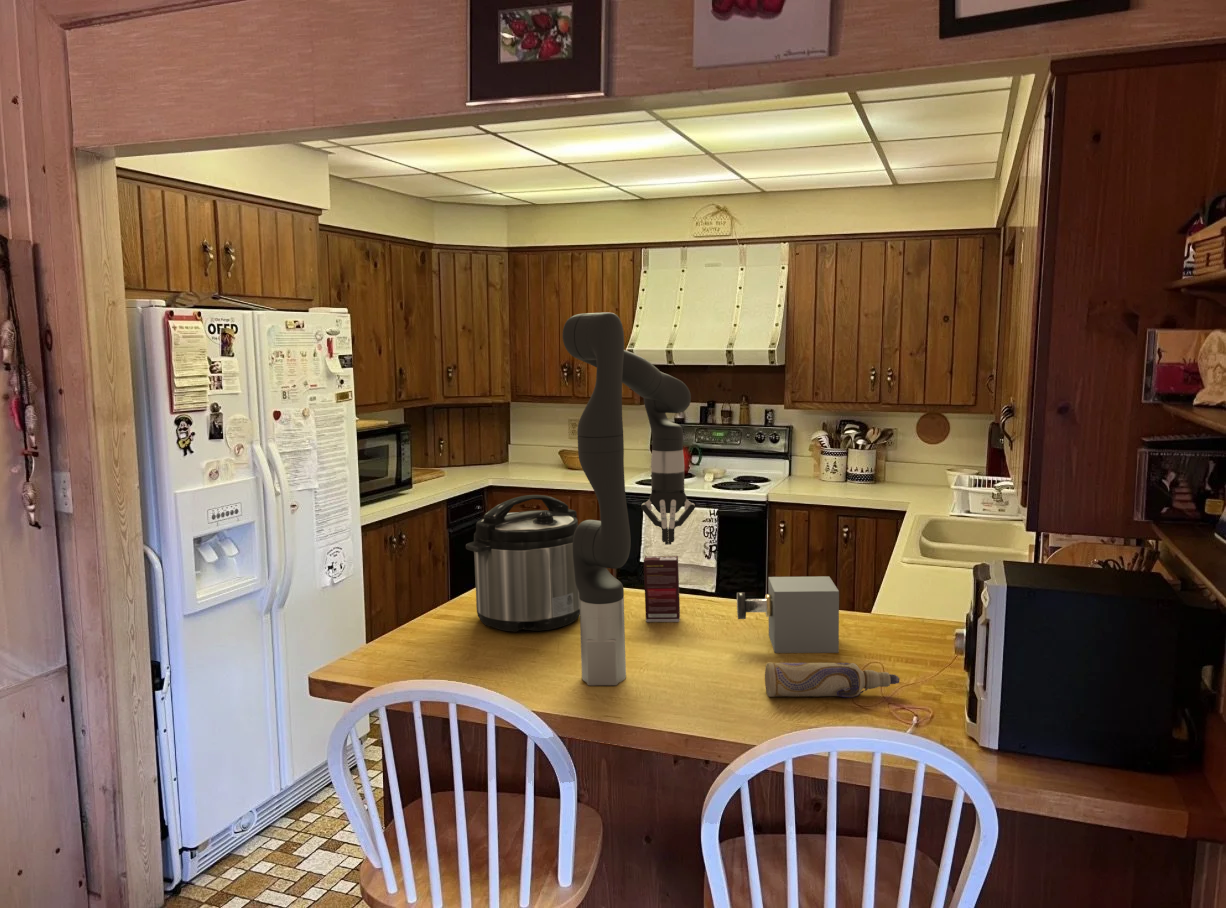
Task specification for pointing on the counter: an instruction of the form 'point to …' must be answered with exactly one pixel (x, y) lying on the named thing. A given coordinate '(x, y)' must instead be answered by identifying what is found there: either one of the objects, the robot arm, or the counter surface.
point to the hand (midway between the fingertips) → (668, 543)
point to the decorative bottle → (822, 679)
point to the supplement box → (661, 589)
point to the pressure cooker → (526, 566)
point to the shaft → (753, 605)
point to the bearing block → (804, 615)
